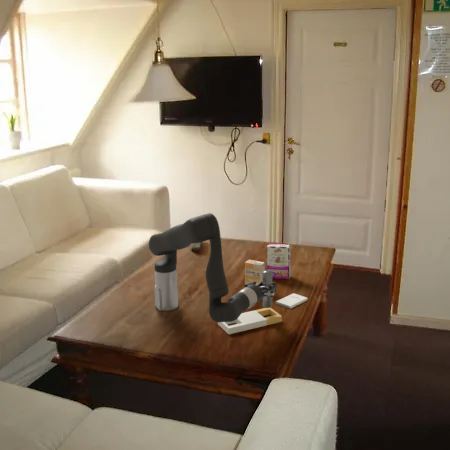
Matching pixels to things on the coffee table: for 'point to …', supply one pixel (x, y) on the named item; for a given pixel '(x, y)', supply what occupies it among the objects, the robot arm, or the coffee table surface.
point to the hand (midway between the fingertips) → (270, 283)
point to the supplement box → (253, 271)
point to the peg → (267, 281)
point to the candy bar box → (279, 260)
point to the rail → (251, 320)
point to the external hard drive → (291, 300)
